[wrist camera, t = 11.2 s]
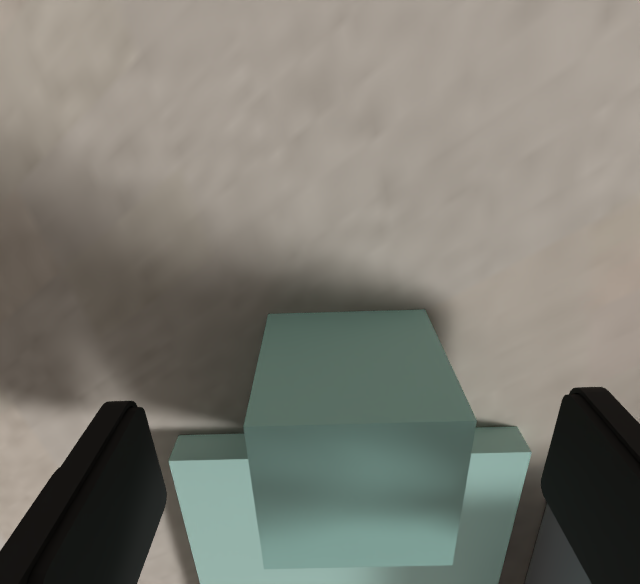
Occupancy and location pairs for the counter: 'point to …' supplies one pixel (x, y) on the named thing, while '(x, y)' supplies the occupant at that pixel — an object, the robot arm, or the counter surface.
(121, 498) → the robot arm
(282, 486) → the mint slab with cube
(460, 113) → the counter surface
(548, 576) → the tub
